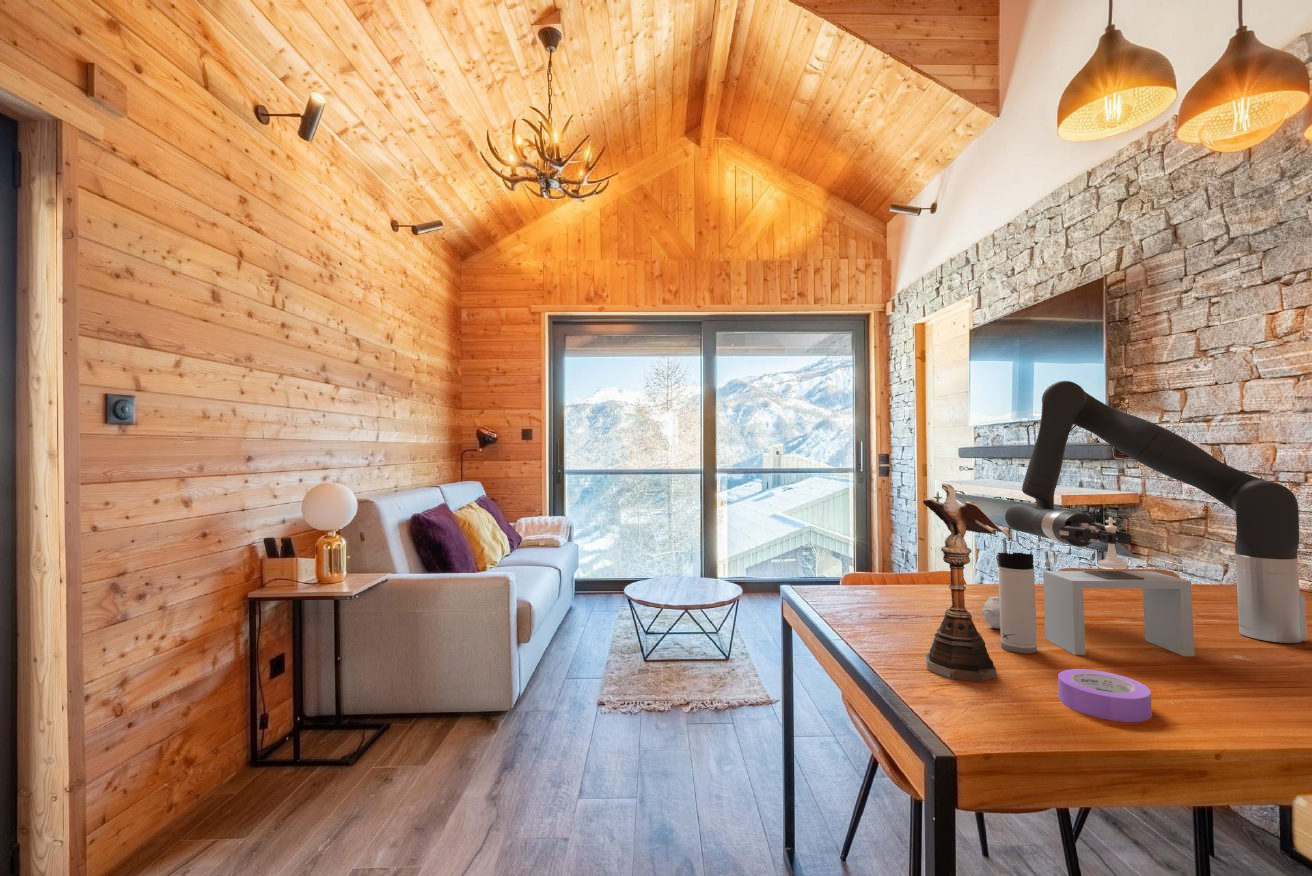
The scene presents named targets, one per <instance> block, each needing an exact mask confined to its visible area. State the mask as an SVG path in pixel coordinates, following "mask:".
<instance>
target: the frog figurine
mask: <svg viewBox="0 0 1312 876" xmlns="http://www.w3.org/2000/svg"><path fill="white" fill-rule="evenodd" d="M983 606H984V607H982V609H981V614H982V615H983V616H984V618H985V619H984V620H985V621H986V623H987V624H988V626H990V627H991V628H993V629H998V630H1000V601H999V596H988V597H987V600H985V602H984V605H983Z"/></svg>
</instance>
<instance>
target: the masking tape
mask: <svg viewBox="0 0 1312 876" xmlns="http://www.w3.org/2000/svg"><path fill="white" fill-rule="evenodd" d="M1057 679H1058V681H1057V683H1058V684H1057V686H1058V700H1059V701H1060V702H1061V703H1062V704H1063V705H1064V706H1066V707H1068V708H1070V709H1072V710H1074V711H1075V712H1079V713H1080V714H1081V713H1082V714H1085V715H1088V716H1091V717H1095V718H1097V719H1103V720H1108V721H1115V722H1124V723H1141V722H1146V721H1148V720H1150V719H1152V717H1153V709H1152V707H1153V706H1152V691H1151V689H1150V687H1147V685H1145V684H1144V683H1142V682H1140V681H1137V680H1135V679H1132V678H1130V677H1127V676H1125V675H1120V674H1116V673H1112V672H1108V671H1102V670H1095V669H1086V668H1085V669H1084V668H1082V669H1081V668H1080V669H1079V668H1074V669H1066V670H1062V671H1061V672H1059V673H1058V675H1057Z"/></svg>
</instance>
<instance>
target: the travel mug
mask: <svg viewBox="0 0 1312 876" xmlns="http://www.w3.org/2000/svg"><path fill="white" fill-rule="evenodd" d="M997 554H998V555H997V558H998V559H997V560H998V566H997V567H998V571H997V572H998V595H999V596H998V597H999V601H1000V629H999V630H1000V646H1001V648H1002V649H1004V651H1008V652H1010V653H1015V654H1023V655H1031V654H1035V653H1037V652H1038V644H1037V643H1038V641H1037V639H1038V638H1037V635H1038V634H1037V617H1036V616H1037V615H1036V612H1037V611H1036V610H1037V609H1036V608H1037V607H1036V589H1035V588H1036V586H1035V582H1036V581H1035V572H1034V571H1035V567H1034V554H1033V553H1023V552H1015V551H1013V552H1012V553H1009V552H998V553H997Z"/></svg>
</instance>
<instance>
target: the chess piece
mask: <svg viewBox="0 0 1312 876" xmlns="http://www.w3.org/2000/svg"><path fill="white" fill-rule="evenodd" d="M1104 522H1105V523H1106V524H1107V523H1108V525H1107V526H1105V529H1106V531H1107V532H1112V533H1115V532H1116V530H1117V527H1118V526H1116V525H1113V523H1117V520H1114V519H1113V517H1112V516H1108V519H1105V521H1104ZM1116 540H1118V539H1117V538H1116ZM1119 559H1120V558H1119V557H1118V555H1117V550H1116V544H1109V543H1107V553H1106V556H1104V559H1100V560H1097V566H1098V567H1103V568H1109V569H1110V568H1111V569H1127V568H1128V563H1127V562H1125V561H1122V560H1119Z"/></svg>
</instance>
